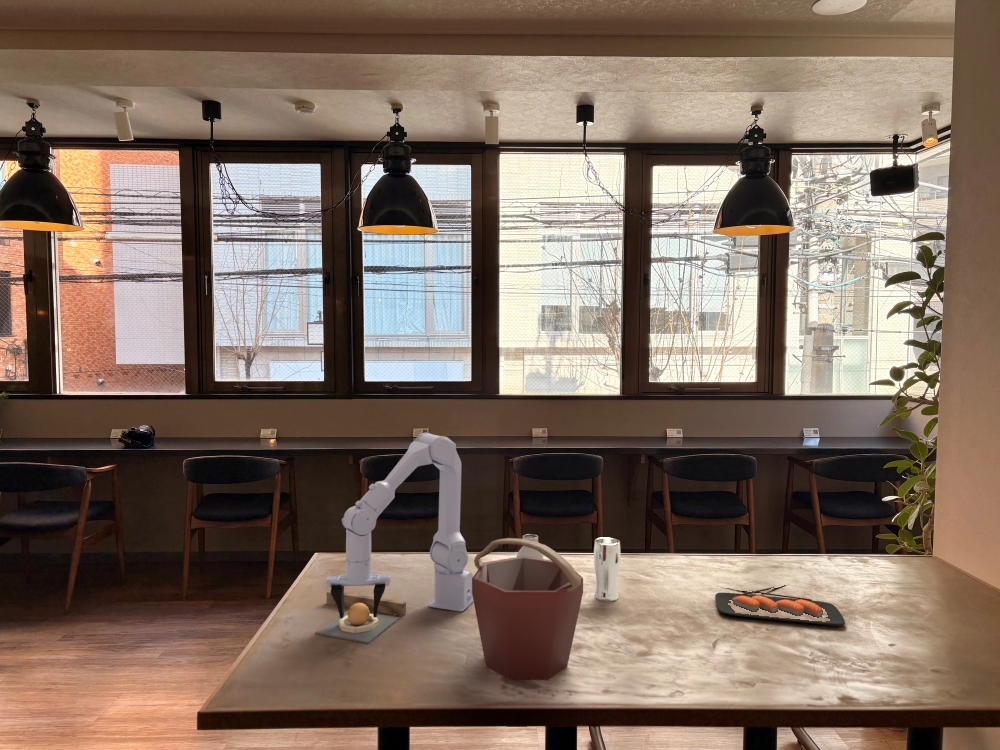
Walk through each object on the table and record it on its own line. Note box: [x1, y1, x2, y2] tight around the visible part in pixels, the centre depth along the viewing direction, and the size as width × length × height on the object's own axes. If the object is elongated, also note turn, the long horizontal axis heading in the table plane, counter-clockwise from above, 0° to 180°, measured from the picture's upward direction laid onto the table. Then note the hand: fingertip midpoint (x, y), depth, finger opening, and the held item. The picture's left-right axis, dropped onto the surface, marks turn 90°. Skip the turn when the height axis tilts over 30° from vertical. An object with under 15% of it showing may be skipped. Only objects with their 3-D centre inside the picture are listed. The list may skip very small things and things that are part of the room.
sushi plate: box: [714, 586, 846, 626], centre depth 171 cm, size 29×30×4 cm
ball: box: [347, 603, 371, 626], centre depth 153 cm, size 5×5×5 cm
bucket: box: [472, 537, 584, 681], centre depth 136 cm, size 24×22×25 cm
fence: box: [326, 590, 407, 617], centre depth 163 cm, size 22×1×3 cm, turn 70°
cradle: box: [315, 609, 401, 644], centre depth 153 cm, size 14×14×1 cm
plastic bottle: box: [516, 533, 544, 559], centre depth 158 cm, size 6×7×20 cm
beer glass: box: [593, 537, 621, 602], centre depth 172 cm, size 7×7×15 cm
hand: (358, 616), depth 153 cm, fingers open, 7 cm apart
